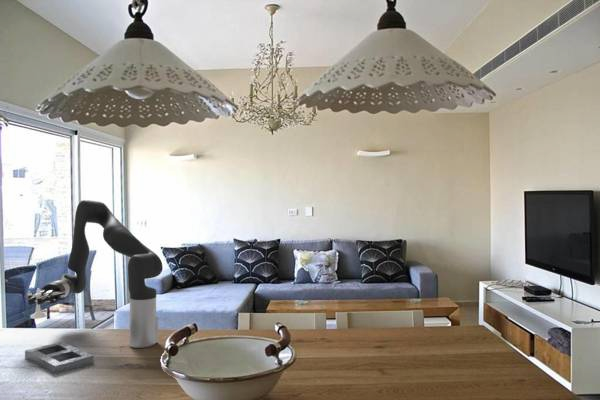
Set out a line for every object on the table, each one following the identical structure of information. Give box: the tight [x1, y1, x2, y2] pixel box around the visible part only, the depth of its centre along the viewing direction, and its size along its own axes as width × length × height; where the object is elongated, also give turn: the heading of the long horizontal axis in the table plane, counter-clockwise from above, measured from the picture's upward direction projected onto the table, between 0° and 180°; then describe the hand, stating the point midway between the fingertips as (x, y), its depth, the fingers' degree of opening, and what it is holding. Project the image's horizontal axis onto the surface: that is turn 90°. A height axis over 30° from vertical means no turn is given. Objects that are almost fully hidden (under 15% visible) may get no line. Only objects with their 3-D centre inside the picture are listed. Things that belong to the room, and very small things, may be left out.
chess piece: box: [29, 287, 47, 320], centre depth 155 cm, size 5×5×10 cm
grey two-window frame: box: [24, 341, 95, 375], centre depth 145 cm, size 12×22×2 cm, turn 52°
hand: (34, 301), depth 152 cm, fingers closed on chess piece
